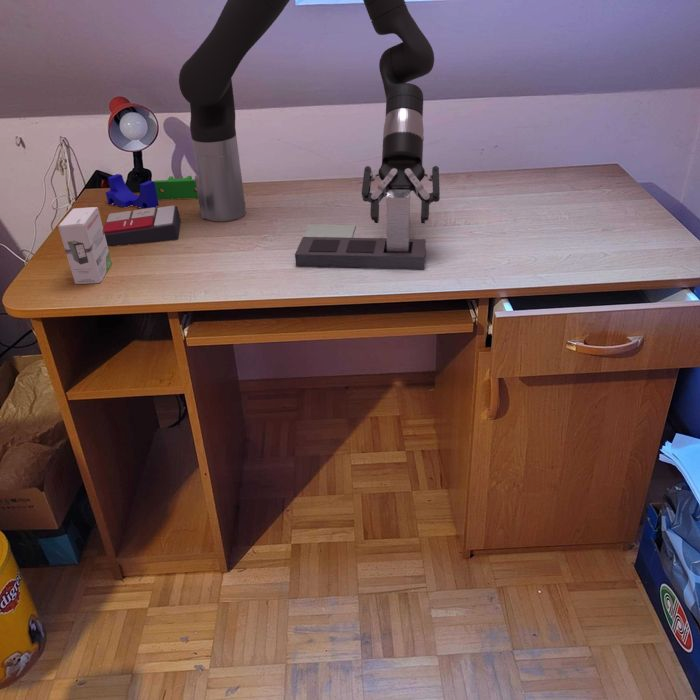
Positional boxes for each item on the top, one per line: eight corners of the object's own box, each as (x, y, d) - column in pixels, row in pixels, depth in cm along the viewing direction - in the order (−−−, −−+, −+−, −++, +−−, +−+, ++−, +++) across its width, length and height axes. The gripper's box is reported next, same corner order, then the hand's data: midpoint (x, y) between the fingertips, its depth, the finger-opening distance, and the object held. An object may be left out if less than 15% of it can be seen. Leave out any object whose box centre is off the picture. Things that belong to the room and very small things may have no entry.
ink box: (87, 264, 130) (71, 206, 124) (113, 263, 130) (98, 205, 124) (74, 285, 123) (56, 225, 117) (101, 283, 123) (84, 223, 117)
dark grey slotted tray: (295, 266, 126) (294, 253, 125) (303, 248, 133) (302, 236, 131) (424, 269, 123) (424, 256, 122) (425, 250, 130) (425, 238, 128)
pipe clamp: (206, 193, 162) (204, 175, 159) (203, 199, 159) (200, 180, 156) (160, 194, 162) (157, 176, 159) (156, 200, 159) (153, 181, 156)
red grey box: (106, 212, 144) (176, 202, 146) (112, 230, 147) (181, 220, 148) (99, 232, 135) (173, 221, 136) (105, 251, 138) (178, 240, 139)
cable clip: (108, 204, 158) (102, 179, 155) (123, 198, 161) (117, 173, 158) (144, 213, 152) (139, 187, 149) (159, 206, 156) (154, 181, 152)
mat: (299, 246, 134) (299, 244, 133) (308, 226, 142) (308, 224, 142) (349, 247, 132) (349, 245, 132) (355, 227, 141) (355, 225, 140)
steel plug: (386, 263, 126) (386, 197, 118) (388, 254, 129) (388, 189, 122) (408, 264, 125) (408, 197, 118) (409, 255, 128) (410, 189, 121)
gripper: (363, 130, 123) (358, 213, 119) (441, 129, 121) (439, 213, 118) (367, 150, 130) (362, 229, 127) (441, 149, 128) (438, 229, 125)
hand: (399, 221), depth 122 cm, fingers open, 8 cm apart
